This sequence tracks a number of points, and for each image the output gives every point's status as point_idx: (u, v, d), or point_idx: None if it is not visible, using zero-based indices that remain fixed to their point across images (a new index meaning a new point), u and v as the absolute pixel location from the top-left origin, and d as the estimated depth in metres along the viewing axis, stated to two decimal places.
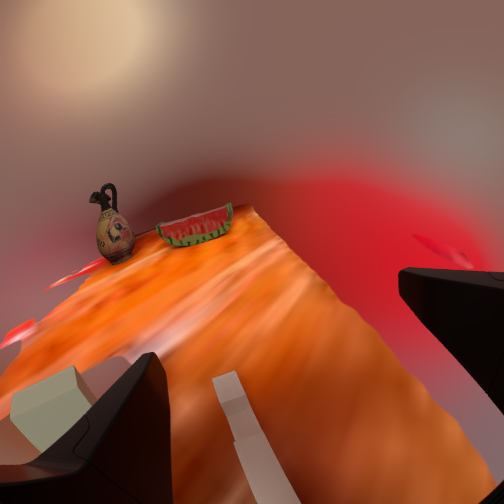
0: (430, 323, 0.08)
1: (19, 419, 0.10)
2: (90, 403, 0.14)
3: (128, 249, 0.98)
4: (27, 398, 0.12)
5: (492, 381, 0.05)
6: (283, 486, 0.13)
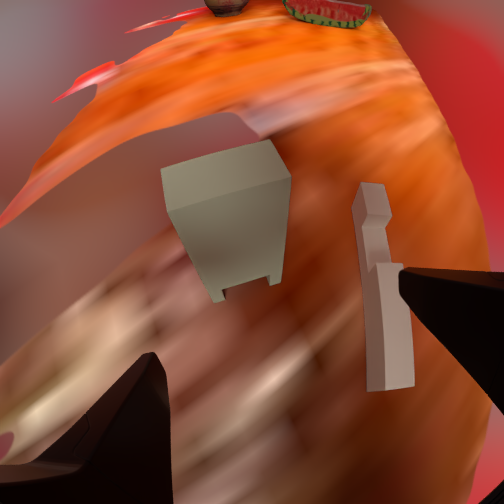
0: (430, 323, 0.08)
1: (182, 211, 0.13)
2: None
3: (240, 6, 0.65)
4: (194, 178, 0.13)
5: (492, 381, 0.05)
6: (406, 328, 0.18)
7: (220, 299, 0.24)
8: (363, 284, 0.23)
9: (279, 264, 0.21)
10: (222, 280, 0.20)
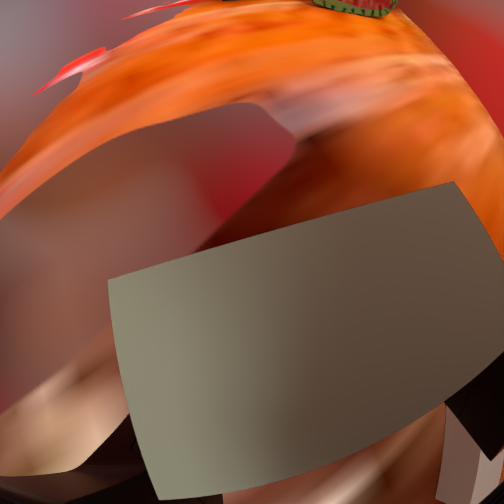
0: None
1: None
2: None
3: None
4: (252, 356, 0.03)
5: (463, 407, 0.05)
6: None
7: None
8: None
9: None
10: None
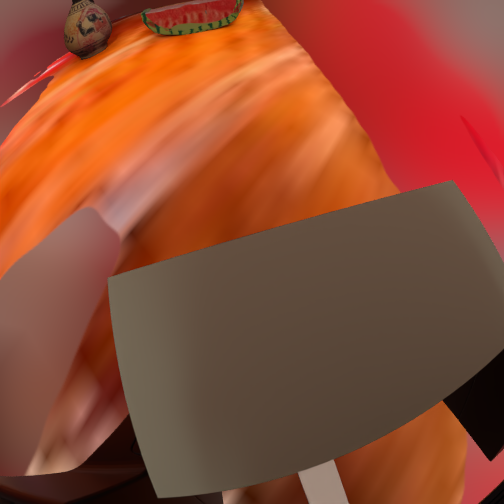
0: None
1: None
2: None
3: (103, 40, 0.55)
4: (251, 354, 0.03)
5: (463, 407, 0.05)
6: (330, 471, 0.13)
7: None
8: None
9: None
10: None
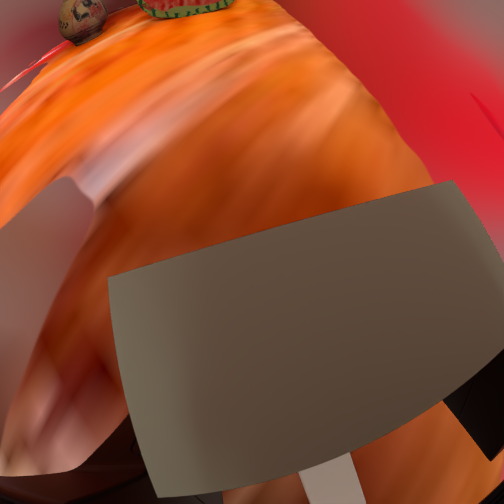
0: None
1: None
2: None
3: (98, 25, 0.50)
4: (251, 353, 0.03)
5: (463, 407, 0.05)
6: (355, 499, 0.08)
7: None
8: None
9: None
10: None
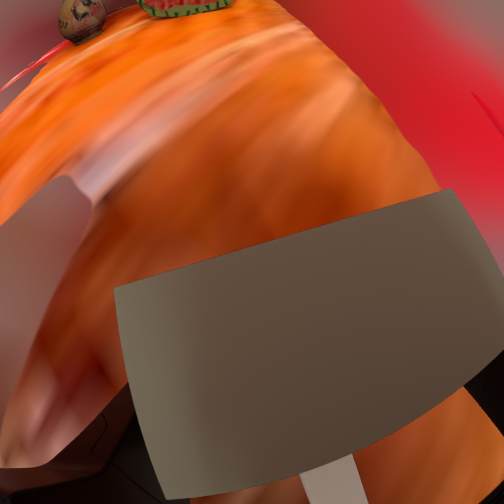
0: None
1: None
2: None
3: (97, 25, 0.50)
4: (255, 361, 0.03)
5: (483, 390, 0.05)
6: (358, 503, 0.08)
7: None
8: None
9: None
10: None
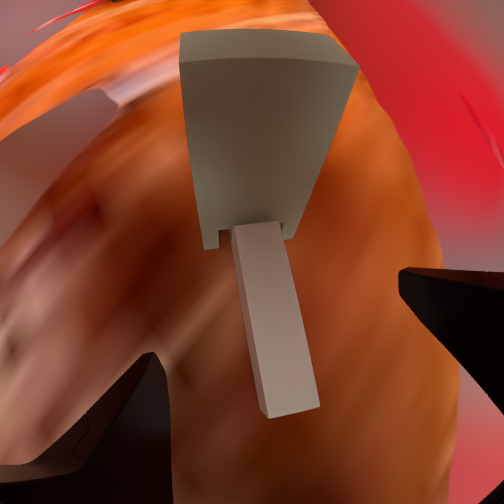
0: (430, 323, 0.08)
1: (201, 68, 0.07)
2: None
3: None
4: (227, 41, 0.08)
5: (492, 381, 0.05)
6: (292, 318, 0.13)
7: (213, 246, 0.18)
8: (234, 260, 0.18)
9: (300, 208, 0.16)
10: (223, 214, 0.15)
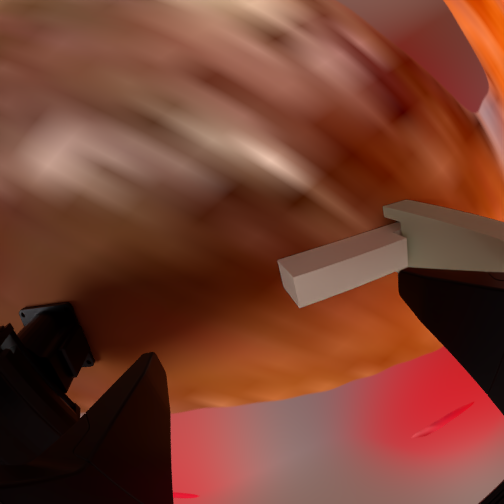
0: (430, 323, 0.08)
1: (500, 250, 0.11)
2: None
3: None
4: None
5: (492, 381, 0.05)
6: (353, 282, 0.20)
7: (386, 214, 0.23)
8: (377, 230, 0.23)
9: None
10: (413, 230, 0.20)
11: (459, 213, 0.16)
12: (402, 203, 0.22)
